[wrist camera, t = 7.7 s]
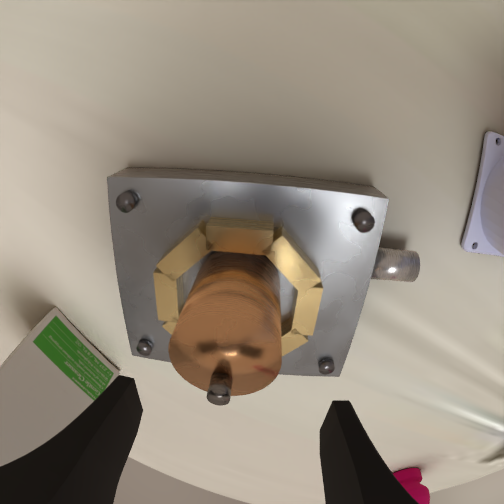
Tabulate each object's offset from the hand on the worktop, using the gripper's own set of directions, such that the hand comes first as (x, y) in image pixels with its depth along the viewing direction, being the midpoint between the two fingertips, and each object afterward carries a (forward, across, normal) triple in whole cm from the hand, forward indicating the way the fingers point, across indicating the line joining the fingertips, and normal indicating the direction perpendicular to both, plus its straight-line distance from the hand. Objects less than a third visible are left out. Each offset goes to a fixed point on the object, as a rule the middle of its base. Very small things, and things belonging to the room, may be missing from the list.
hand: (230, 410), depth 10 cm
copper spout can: (+7, 0, -1) cm, 7 cm away
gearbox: (+10, -1, 0) cm, 10 cm away
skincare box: (+10, +15, +10) cm, 21 cm away
